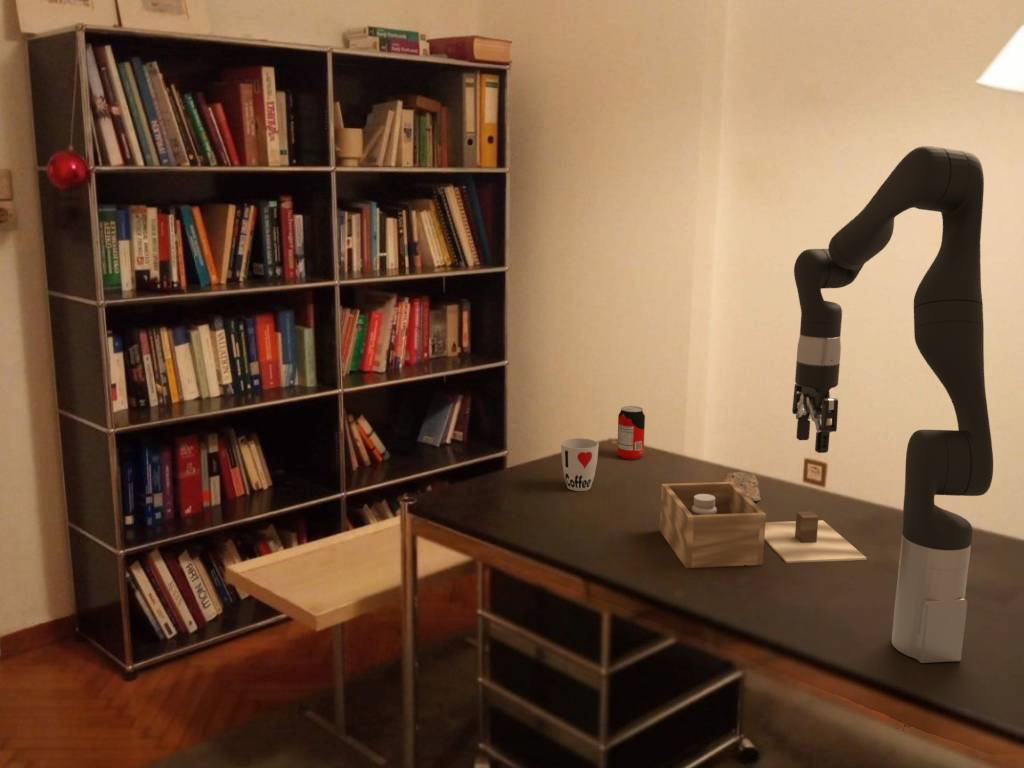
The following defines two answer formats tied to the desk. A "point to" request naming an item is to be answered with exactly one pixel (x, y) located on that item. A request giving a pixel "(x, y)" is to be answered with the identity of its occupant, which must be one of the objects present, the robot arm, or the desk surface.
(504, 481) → the desk surface
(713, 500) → the pill bottle
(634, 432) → the beverage can
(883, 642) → the desk surface
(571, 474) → the cup
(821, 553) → the lid
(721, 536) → the box
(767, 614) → the desk surface
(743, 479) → the rock
